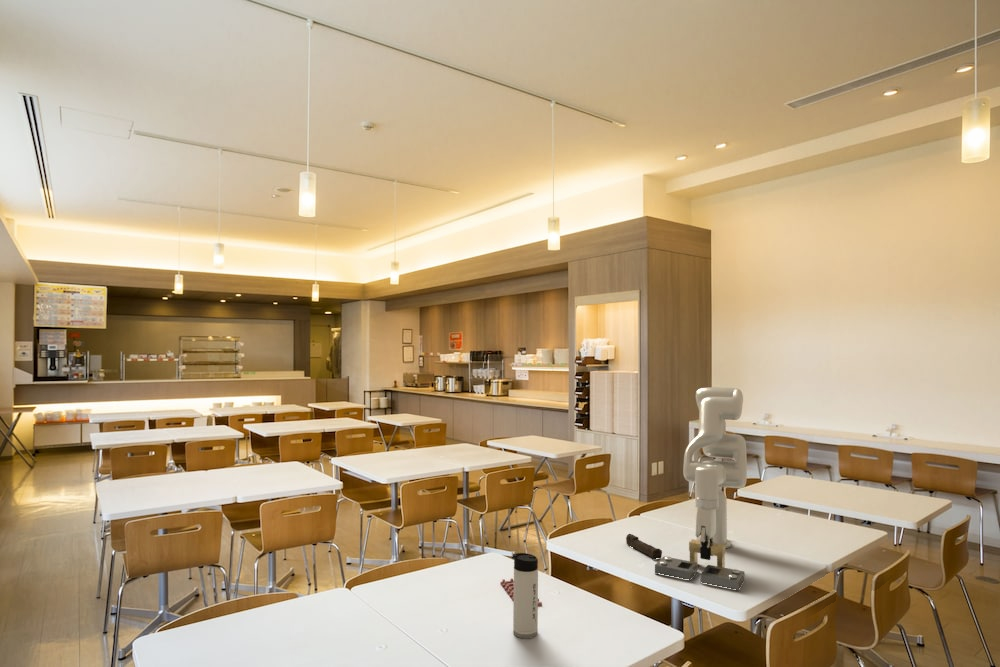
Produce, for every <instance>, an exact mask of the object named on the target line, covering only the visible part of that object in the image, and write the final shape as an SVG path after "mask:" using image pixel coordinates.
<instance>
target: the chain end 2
mask: <svg viewBox="0 0 1000 667" xmlns="http://www.w3.org/2000/svg"><path fill="white" fill-rule="evenodd" d="M744 580H745V571H743V570H739V569H733V568H727V567H725V568H723V567H718V566H717V565H711V564H707V565H706V567H705V568H704V569H703V570H702V571H701V573H700V583H701V582H702V583H707V584H712V585H717V586H722V587H727V588H731V589H736V590H739V588H740V587H741V588H742V586H743V585H742V583H743V582H744V583H745V581H744ZM744 583H743V584H744ZM741 585H742V586H741ZM741 588H740V589H741ZM739 591H740V590H739Z"/></svg>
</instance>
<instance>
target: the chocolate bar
mask: <svg viewBox="0 0 1000 667" xmlns="http://www.w3.org/2000/svg"><path fill="white" fill-rule="evenodd" d="M500 586H501V587H502V588H503V590H504V591H505V593H506V594H507V595H508V597H509V598H510V599H511V601H512V602H513V603H514V577H513V578H510V580H506V579H502V580H501V581H500ZM541 606H543V602H542V601H540V599H539V598H538V607H541Z"/></svg>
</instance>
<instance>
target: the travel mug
mask: <svg viewBox="0 0 1000 667" xmlns="http://www.w3.org/2000/svg"><path fill="white" fill-rule="evenodd" d="M512 559H513V580H514V602H513V612H512V613H513V616H512V617H513V619H512V620H513V622H512V623H513V625H512V626H513V627H512V628H513V629H512V630H513V631H512V633H513V635H514V636H515V637H517V638H519V639H523V640H529V639H533V638H535V637H537V636H538V632H539V630H538V629H539V628H538V627H539V626H538V620H539V618H538V614H539V612H538V610H539V606H538V599H539V598H538V597H539V594H538V593H539V592H538V591H539V559H538V558H537V556H535V555H533V554H530V553H525V552H524V553H523V552H517V553H513V554H512Z"/></svg>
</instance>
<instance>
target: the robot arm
mask: <svg viewBox="0 0 1000 667" xmlns="http://www.w3.org/2000/svg"><path fill="white" fill-rule="evenodd" d="M695 401H696V402H695V403H696V405H697V408H698V412H699V413H698V414H699V415H698V433H697V435H696V436H695V437H693V438H692V440H691V441H690V442H689V443H688V445H687V446H686V448H685V451H684V456H683V468H682V470H683V474H682V475H683V478H684V479H685V481H687V482H690V483H694V487H695V488H694V496H695V497H694V499H695V502H694V504H695V506H694V507H695V508H696V516H695V518H696V519H695V537H696V539H695V540H699V541H700V553H699V555H700V557H699V558H700V559H702V560H705V561H710V560H711V557H714V556H713V555H710V548H709V546H710V542H711V543H717V544H723V545H725V549H728V548H730V547H731V546H732V542H731V541H730V540H729V539H728V530H727V529H728V528H727V527H728V522H727V520H728V519H727V516H728V515H727V513H728V512H727V511H728V507H727V506H728V505H727V504H728V500H727V496H726V494H725V493H724V492H723V490H722V488H731V489H742V488H744V487H745V486H746V484H747V476H748V474H747V472H748V469H747V466H748V464H747V463H748V462H747V443H746V442H747V441H746V439H745V437H743V435H741V434H734V433H727V432H726V428H727V426H726V425H727V423H726V420H727V421H737V420H739V419H740V418H741V416H742V411H743V403H744V395H743V392H742V390H741V389H739V388H736V387H718V386H717V387H714V386H713V387H708V386H707V387H701V388H699V389H697V390H696V391H695ZM700 449H702V452H703V455H705V456H706V457H709V458H717V459H729V460H733V461H722V460H721V461H720V460H704V461H700V460H699V461H697V460H693V456H694V455H695V453H696V452H698V451H699V450H700Z"/></svg>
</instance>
